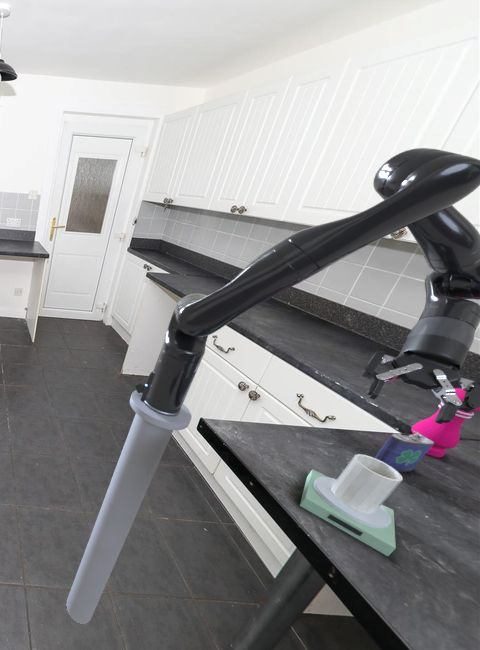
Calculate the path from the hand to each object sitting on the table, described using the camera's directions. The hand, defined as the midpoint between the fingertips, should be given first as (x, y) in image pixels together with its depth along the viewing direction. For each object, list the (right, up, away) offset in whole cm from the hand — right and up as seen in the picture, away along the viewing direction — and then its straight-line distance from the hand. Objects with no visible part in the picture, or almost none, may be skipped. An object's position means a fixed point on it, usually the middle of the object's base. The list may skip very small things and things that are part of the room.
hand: (405, 409), depth 65 cm
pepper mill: (+35, -17, +23) cm, 45 cm away
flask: (+17, -19, +15) cm, 29 cm away
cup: (-9, -19, +1) cm, 21 cm away
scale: (-10, -22, +2) cm, 24 cm away
